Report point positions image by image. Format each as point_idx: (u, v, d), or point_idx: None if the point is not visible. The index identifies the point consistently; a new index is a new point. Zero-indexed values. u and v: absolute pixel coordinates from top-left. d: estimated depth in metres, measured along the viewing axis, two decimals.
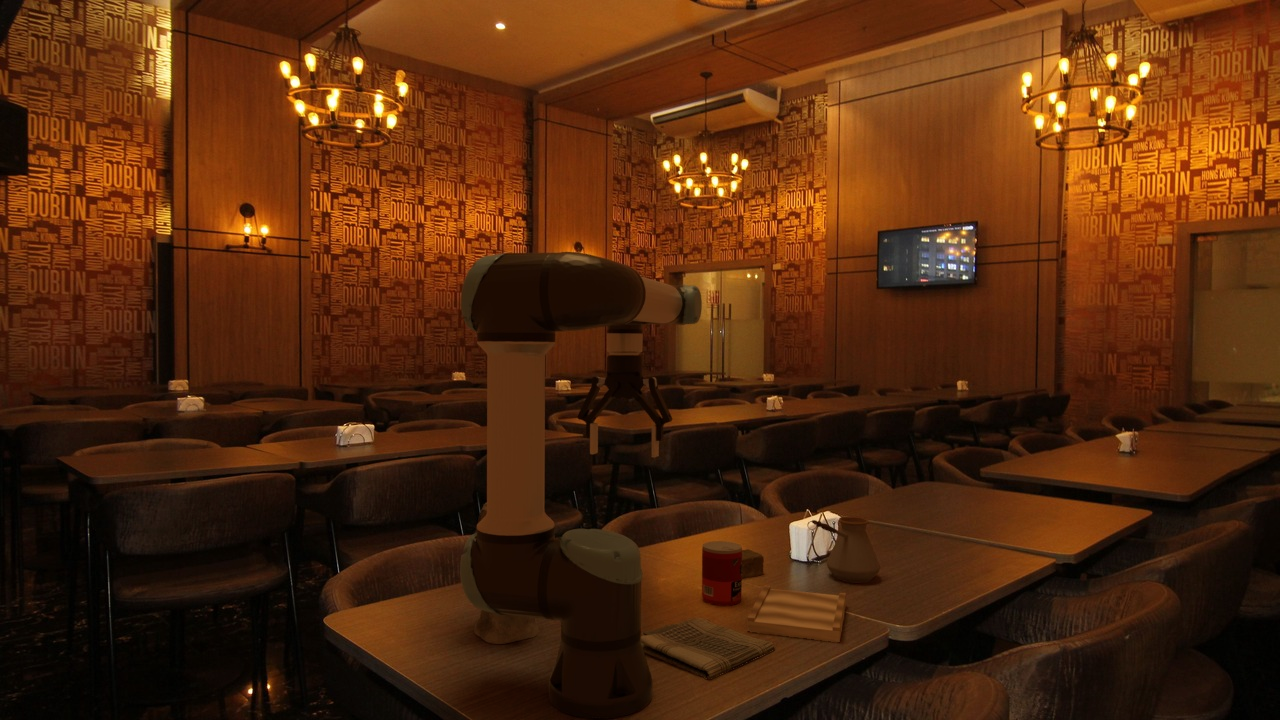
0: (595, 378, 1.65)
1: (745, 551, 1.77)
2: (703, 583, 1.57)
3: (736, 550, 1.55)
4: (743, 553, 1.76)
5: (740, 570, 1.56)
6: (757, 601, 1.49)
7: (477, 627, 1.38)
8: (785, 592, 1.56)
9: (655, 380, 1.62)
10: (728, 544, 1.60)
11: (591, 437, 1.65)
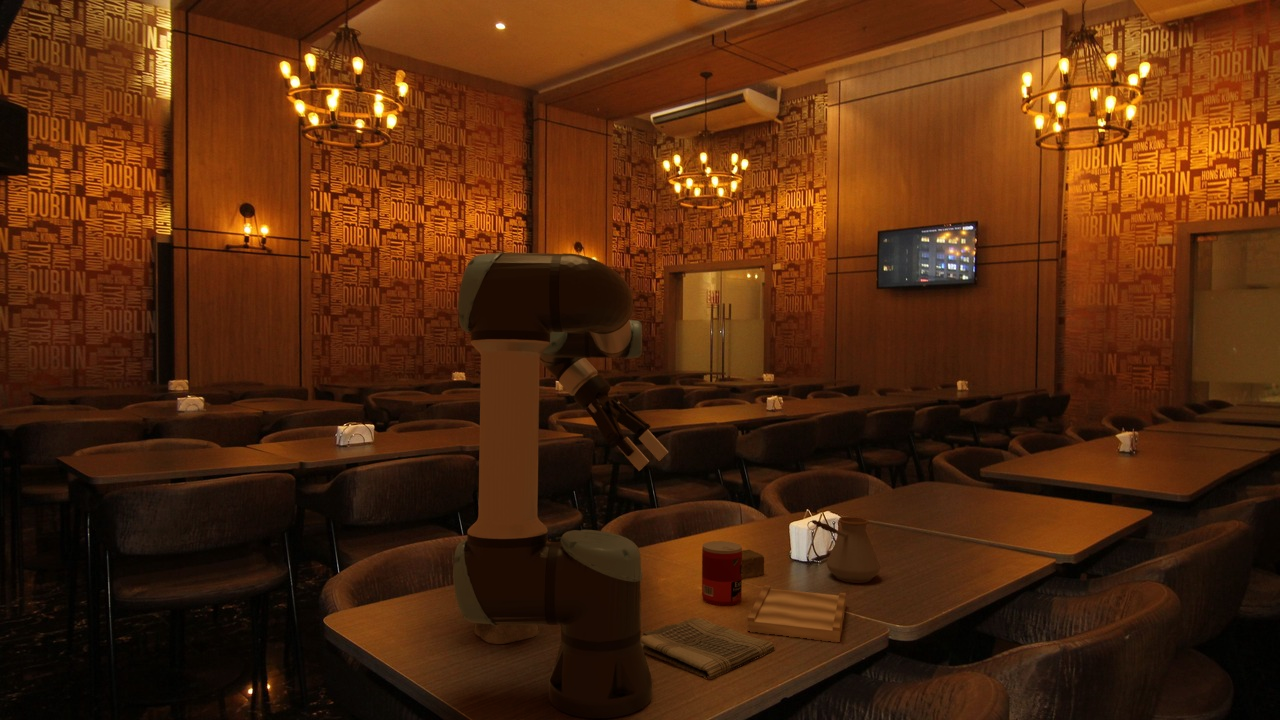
0: (595, 401, 1.56)
1: (746, 552, 1.76)
2: (703, 583, 1.57)
3: (736, 550, 1.55)
4: (744, 553, 1.75)
5: (740, 570, 1.56)
6: (757, 601, 1.49)
7: (477, 627, 1.38)
8: (785, 592, 1.56)
9: None
10: (728, 544, 1.60)
11: (636, 447, 1.52)
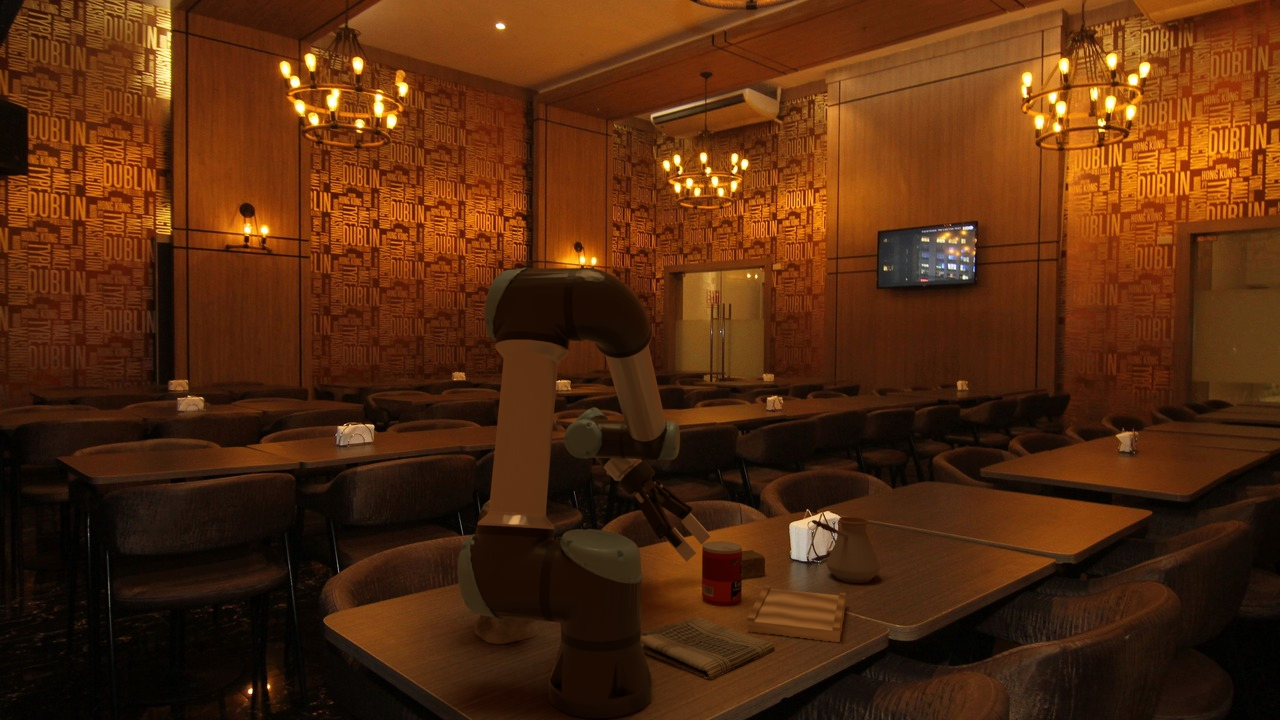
0: (642, 490, 1.57)
1: (748, 552, 1.76)
2: (703, 583, 1.57)
3: (736, 550, 1.55)
4: (745, 554, 1.75)
5: (740, 570, 1.56)
6: (757, 601, 1.49)
7: (477, 627, 1.38)
8: (785, 592, 1.56)
9: None
10: (728, 544, 1.60)
11: (684, 539, 1.54)
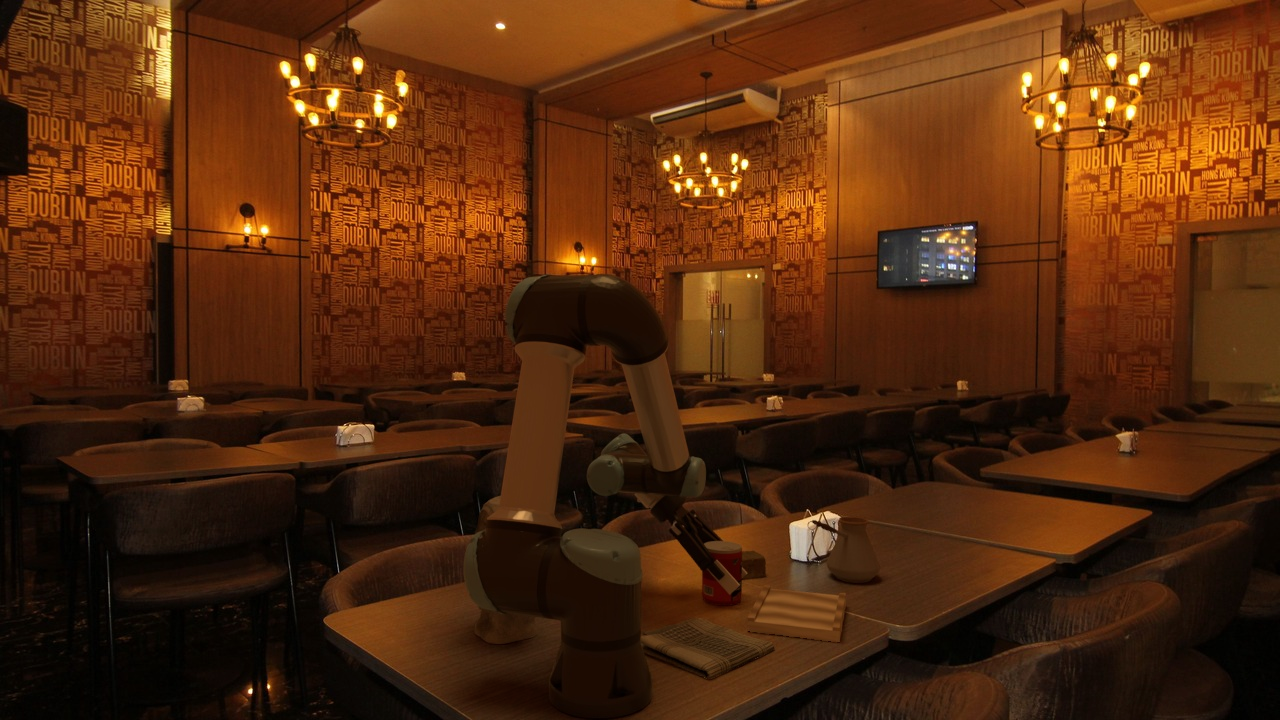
0: (678, 522, 1.54)
1: (749, 553, 1.76)
2: (703, 583, 1.57)
3: (736, 550, 1.55)
4: (746, 554, 1.75)
5: (740, 570, 1.56)
6: (757, 601, 1.49)
7: (477, 627, 1.38)
8: (785, 592, 1.56)
9: None
10: (728, 544, 1.60)
11: (727, 571, 1.53)
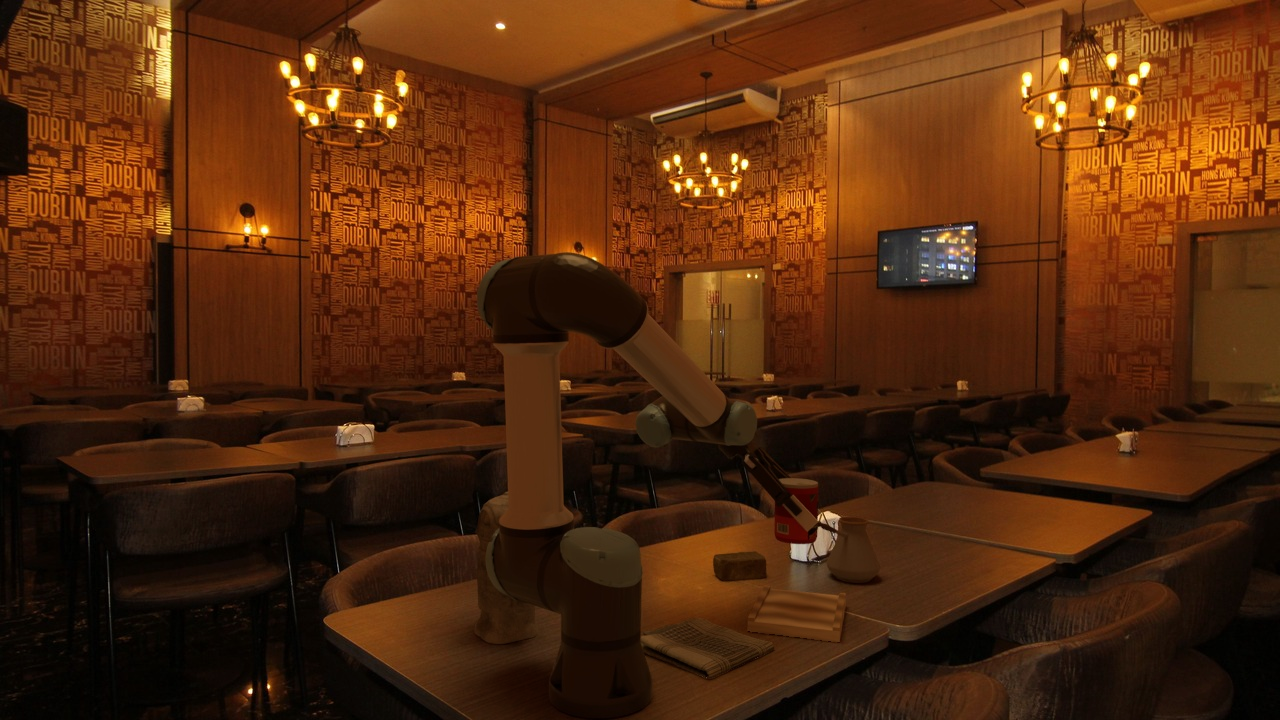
0: (752, 455, 1.44)
1: (750, 553, 1.75)
2: (777, 521, 1.46)
3: (813, 485, 1.44)
4: (746, 554, 1.74)
5: (817, 507, 1.46)
6: (757, 601, 1.49)
7: (477, 627, 1.38)
8: (785, 592, 1.56)
9: None
10: (802, 481, 1.50)
11: (804, 507, 1.43)
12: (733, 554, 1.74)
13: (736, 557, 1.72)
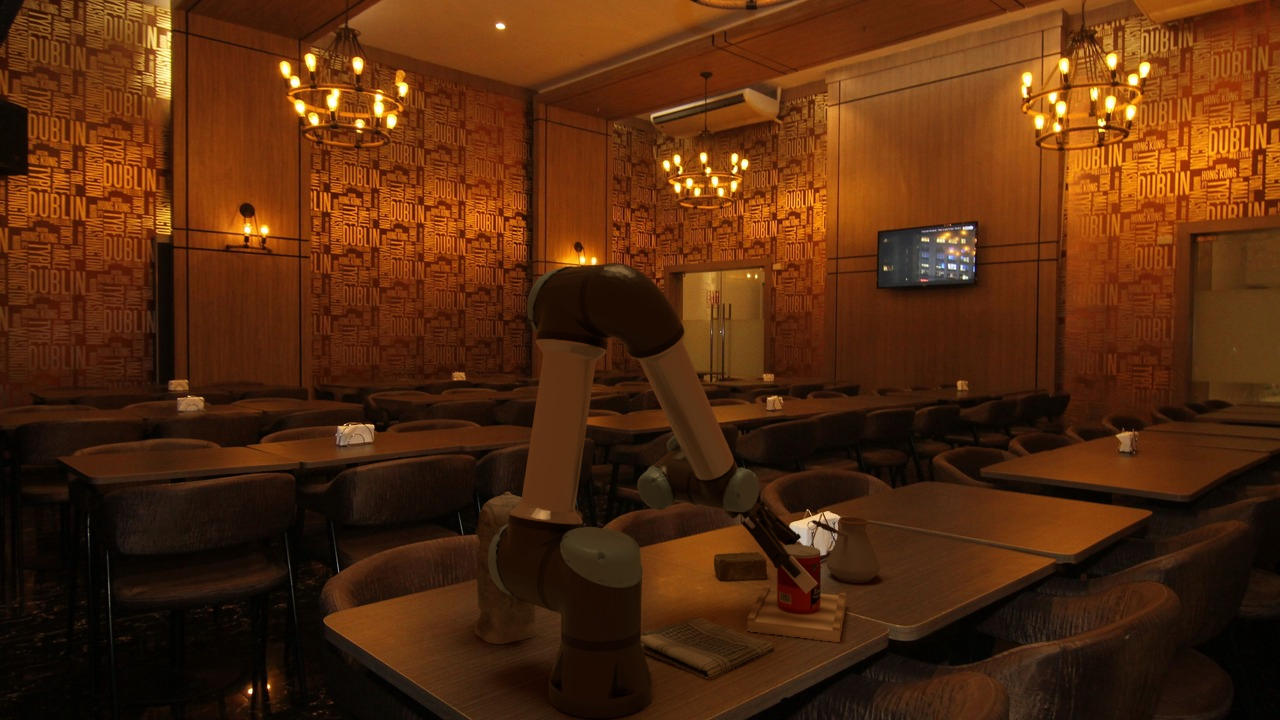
0: (752, 515, 1.43)
1: (751, 554, 1.75)
2: (779, 590, 1.46)
3: (815, 554, 1.44)
4: (747, 555, 1.74)
5: (819, 576, 1.45)
6: (757, 601, 1.49)
7: (477, 627, 1.38)
8: None
9: None
10: (804, 548, 1.49)
11: (803, 568, 1.41)
12: (734, 554, 1.74)
13: (736, 558, 1.72)
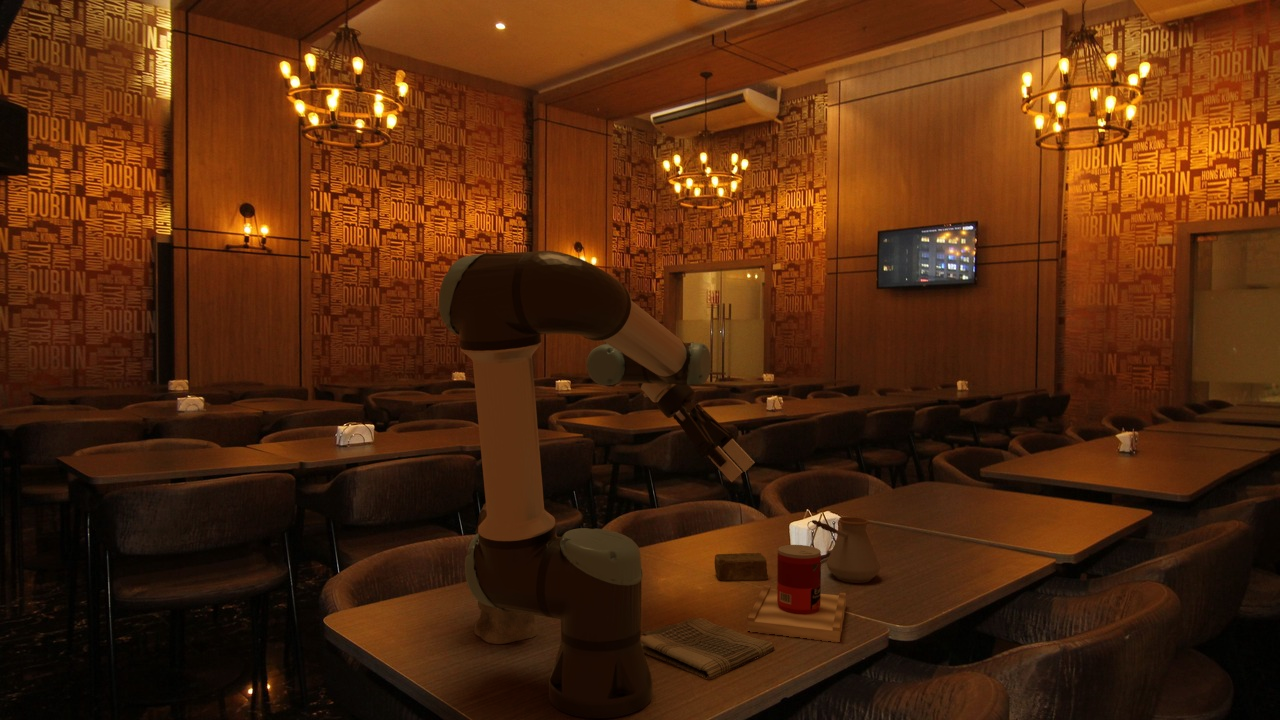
0: (683, 408, 1.47)
1: (752, 555, 1.74)
2: (779, 590, 1.46)
3: (816, 554, 1.44)
4: (748, 556, 1.73)
5: (819, 576, 1.45)
6: (757, 601, 1.49)
7: (477, 627, 1.38)
8: None
9: None
10: (804, 548, 1.49)
11: (728, 457, 1.44)
12: (734, 555, 1.74)
13: (736, 558, 1.72)
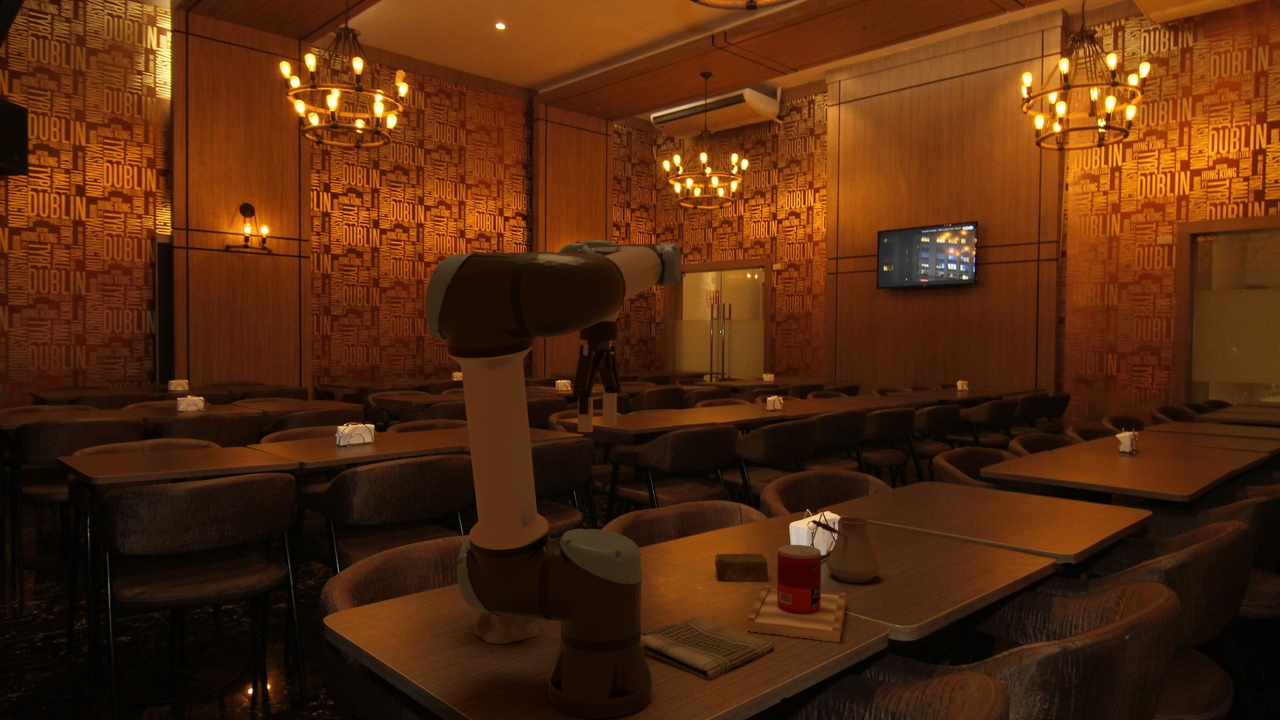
0: (593, 346, 1.48)
1: (753, 555, 1.73)
2: (779, 590, 1.46)
3: (816, 554, 1.44)
4: (748, 556, 1.73)
5: (819, 576, 1.45)
6: (757, 601, 1.49)
7: (477, 627, 1.38)
8: None
9: None
10: (804, 548, 1.49)
11: (591, 413, 1.47)
12: (735, 555, 1.74)
13: (736, 558, 1.71)
